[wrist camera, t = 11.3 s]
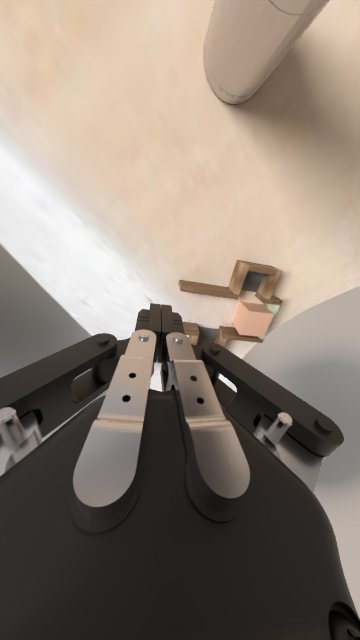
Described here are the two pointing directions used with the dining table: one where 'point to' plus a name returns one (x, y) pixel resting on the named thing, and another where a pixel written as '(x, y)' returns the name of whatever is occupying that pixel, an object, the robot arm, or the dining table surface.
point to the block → (252, 319)
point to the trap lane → (242, 279)
